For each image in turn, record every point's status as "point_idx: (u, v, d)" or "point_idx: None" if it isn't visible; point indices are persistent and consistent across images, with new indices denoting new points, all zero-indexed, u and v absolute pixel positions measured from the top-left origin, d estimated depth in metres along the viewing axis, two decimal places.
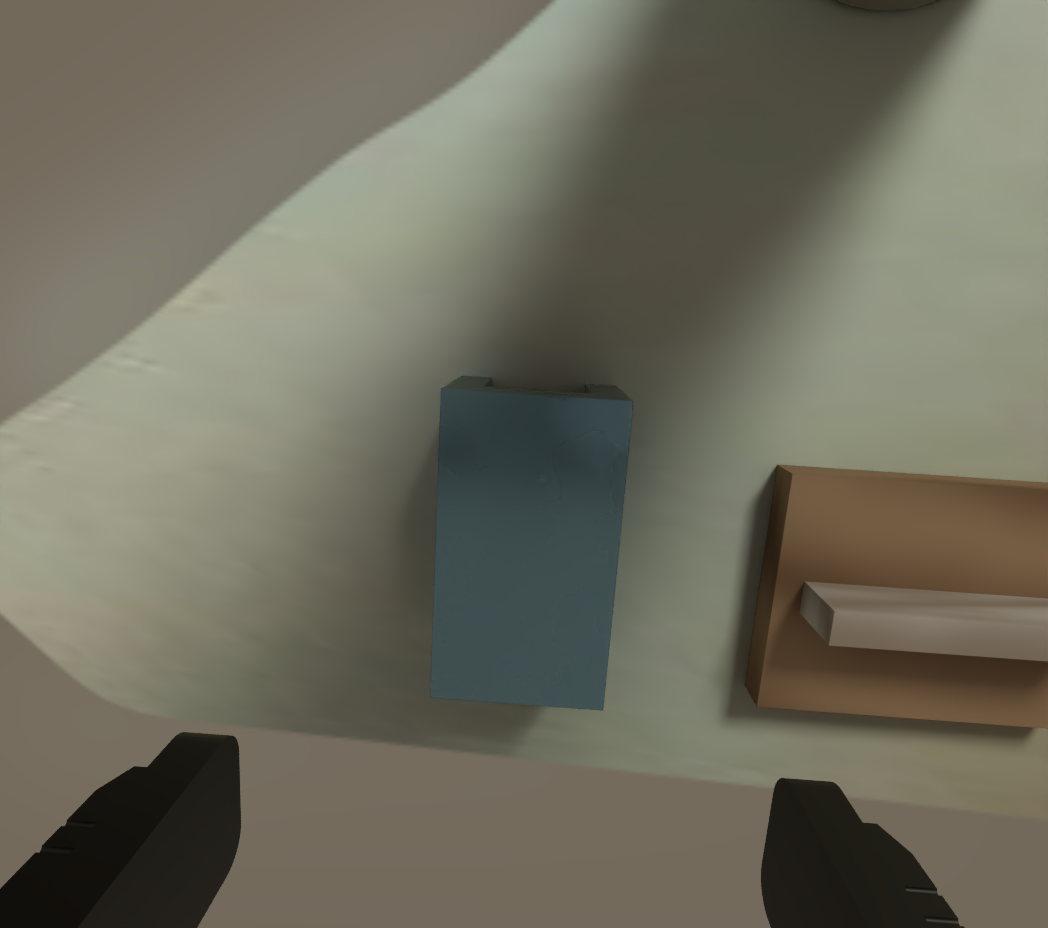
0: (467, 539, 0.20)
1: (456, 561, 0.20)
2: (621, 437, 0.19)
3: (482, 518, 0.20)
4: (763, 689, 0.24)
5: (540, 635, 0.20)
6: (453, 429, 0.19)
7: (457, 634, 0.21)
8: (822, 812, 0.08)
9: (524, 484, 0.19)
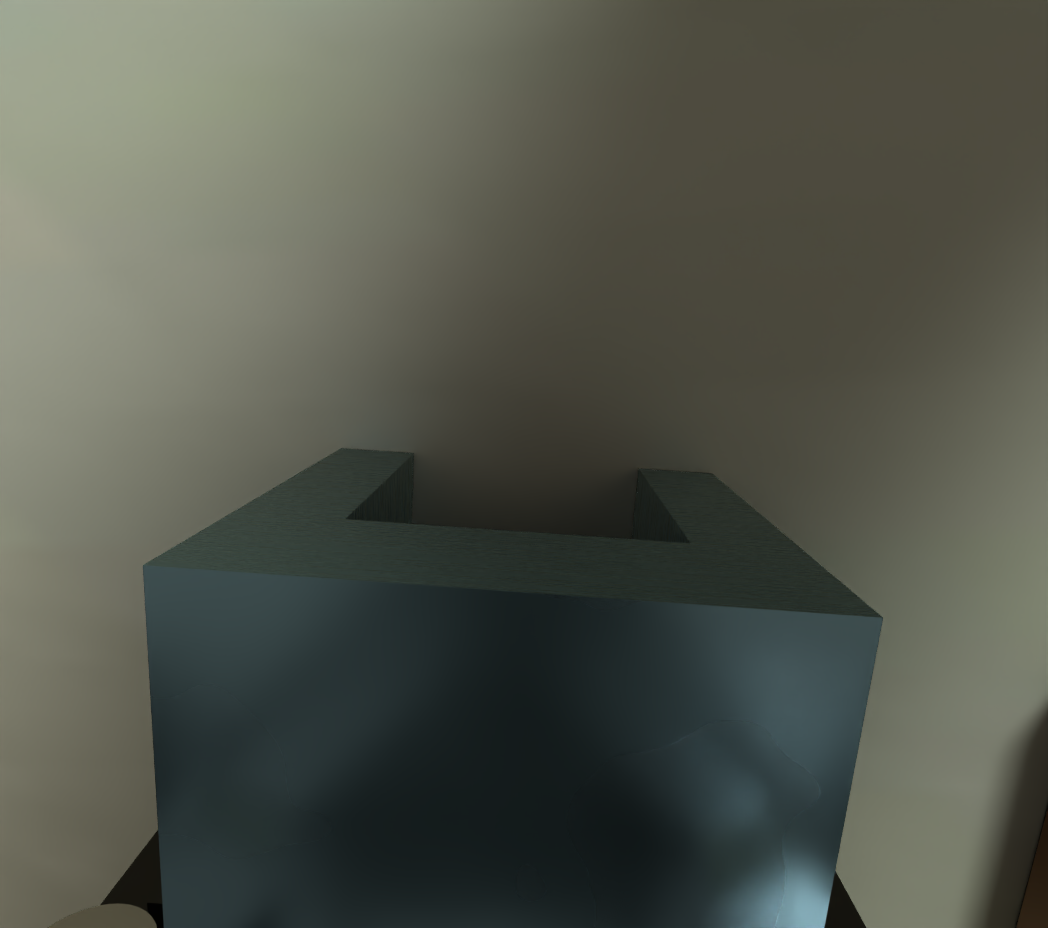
0: None
1: None
2: (827, 744, 0.05)
3: None
4: None
5: None
6: (201, 708, 0.05)
7: None
8: None
9: (467, 891, 0.05)
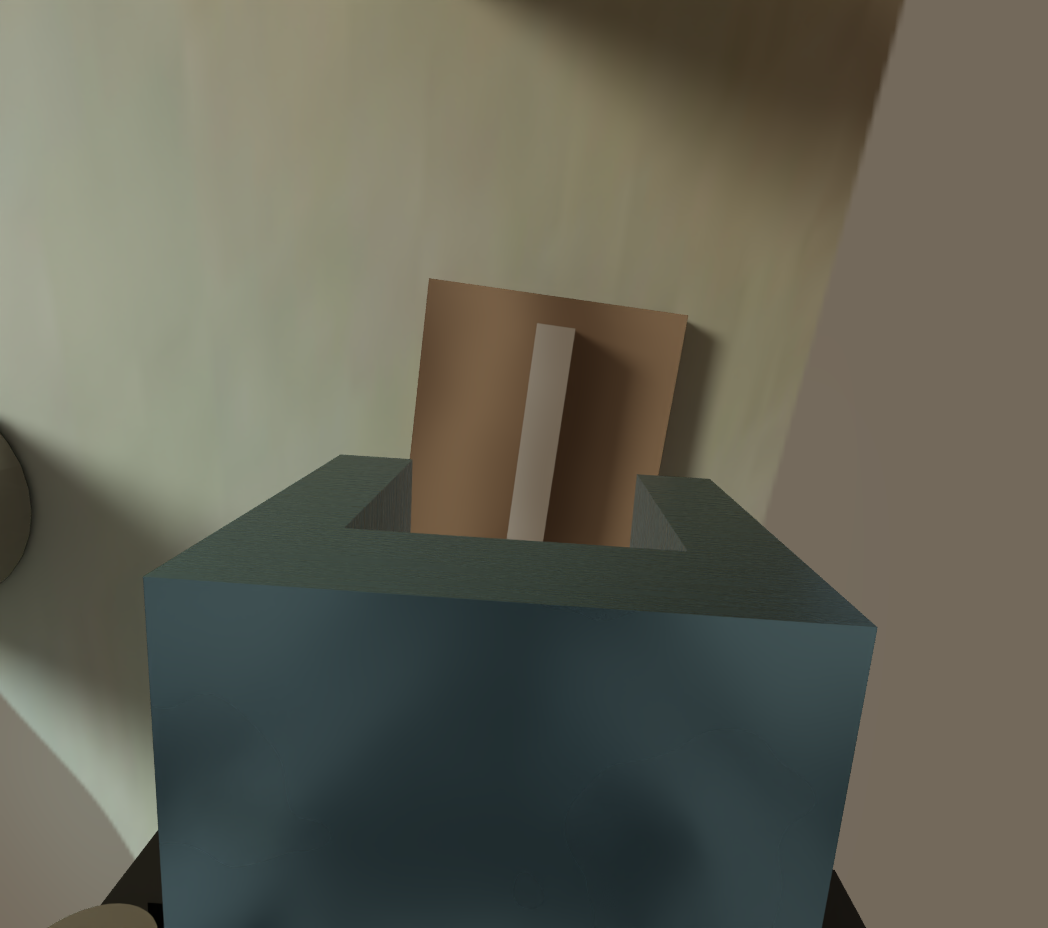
0: None
1: None
2: (822, 752, 0.05)
3: None
4: None
5: None
6: (201, 718, 0.05)
7: None
8: None
9: (466, 898, 0.06)
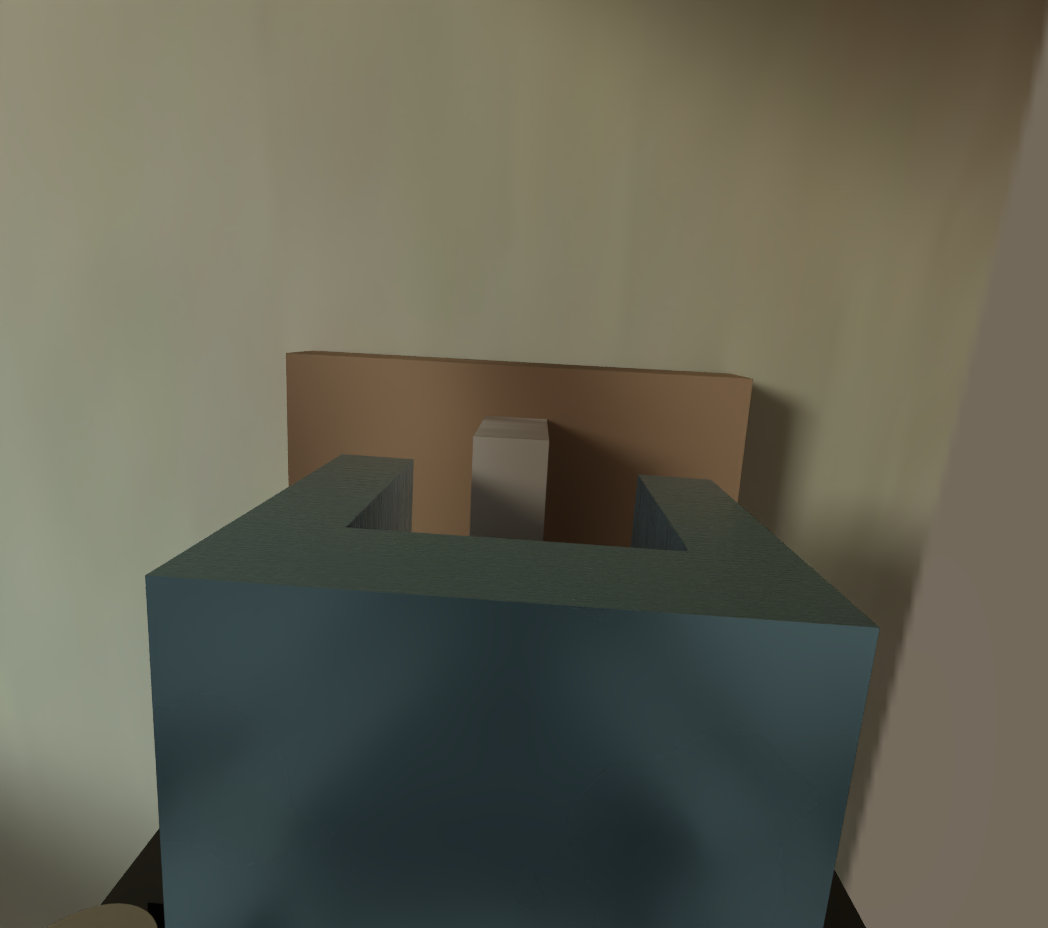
0: None
1: None
2: (824, 752, 0.05)
3: None
4: None
5: None
6: (203, 717, 0.05)
7: None
8: None
9: (467, 898, 0.06)
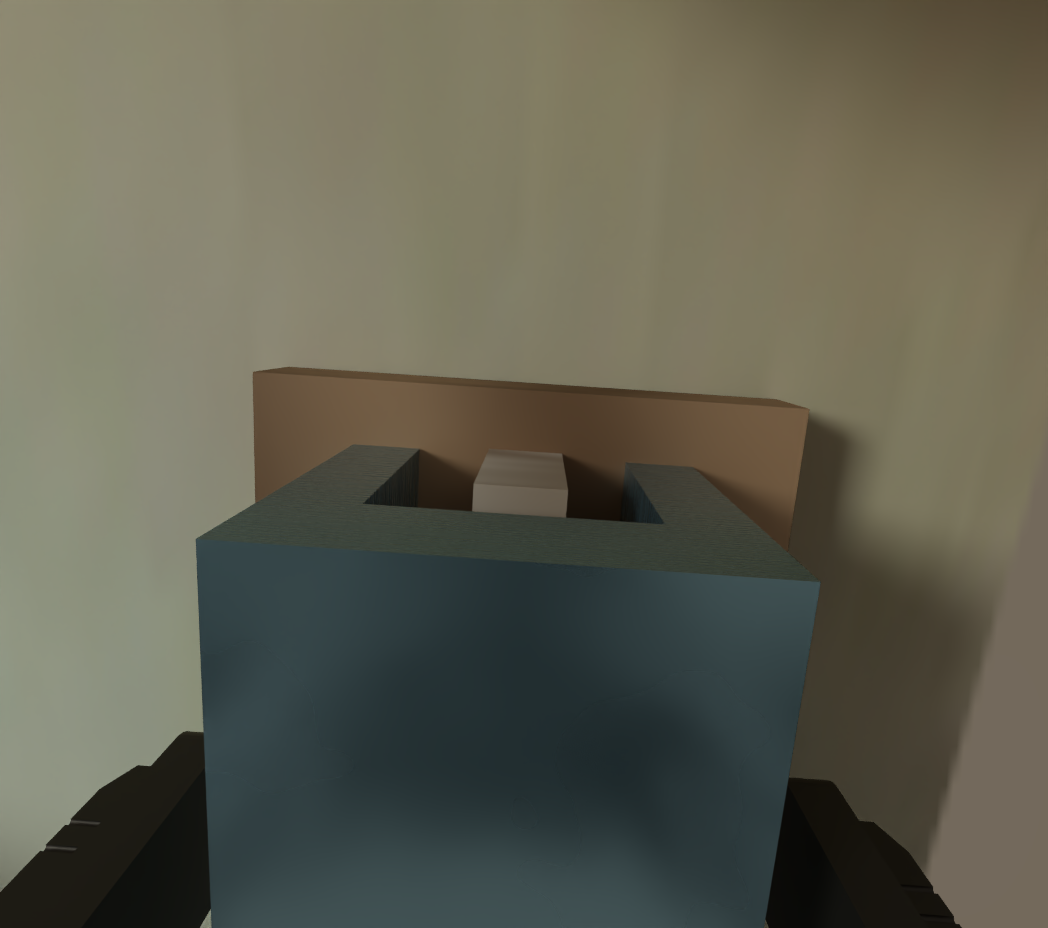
0: None
1: None
2: (775, 691, 0.06)
3: (347, 909, 0.07)
4: None
5: None
6: (243, 662, 0.06)
7: None
8: (819, 810, 0.08)
9: (470, 820, 0.06)
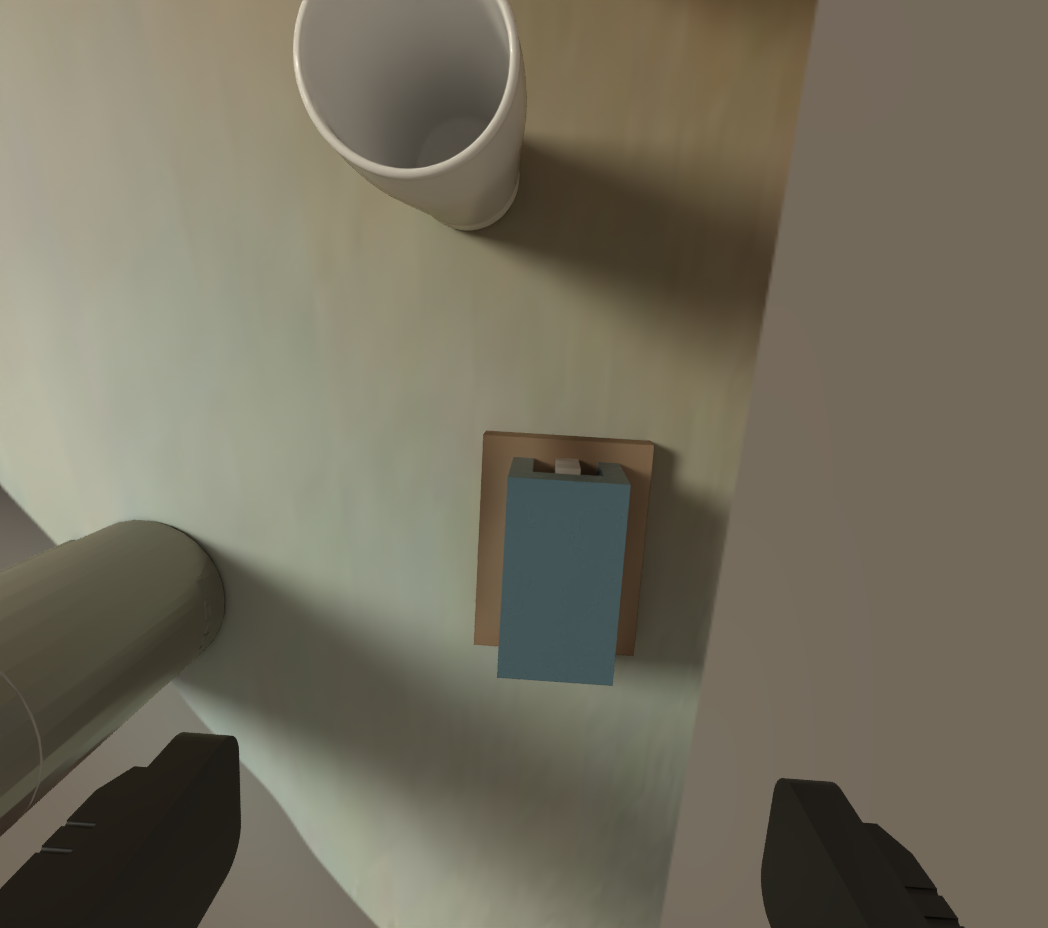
0: (523, 572, 0.31)
1: (515, 587, 0.31)
2: (623, 507, 0.30)
3: (533, 559, 0.30)
4: (620, 652, 0.37)
5: (570, 635, 0.31)
6: (515, 502, 0.30)
7: (515, 635, 0.31)
8: (822, 812, 0.08)
9: (560, 537, 0.30)
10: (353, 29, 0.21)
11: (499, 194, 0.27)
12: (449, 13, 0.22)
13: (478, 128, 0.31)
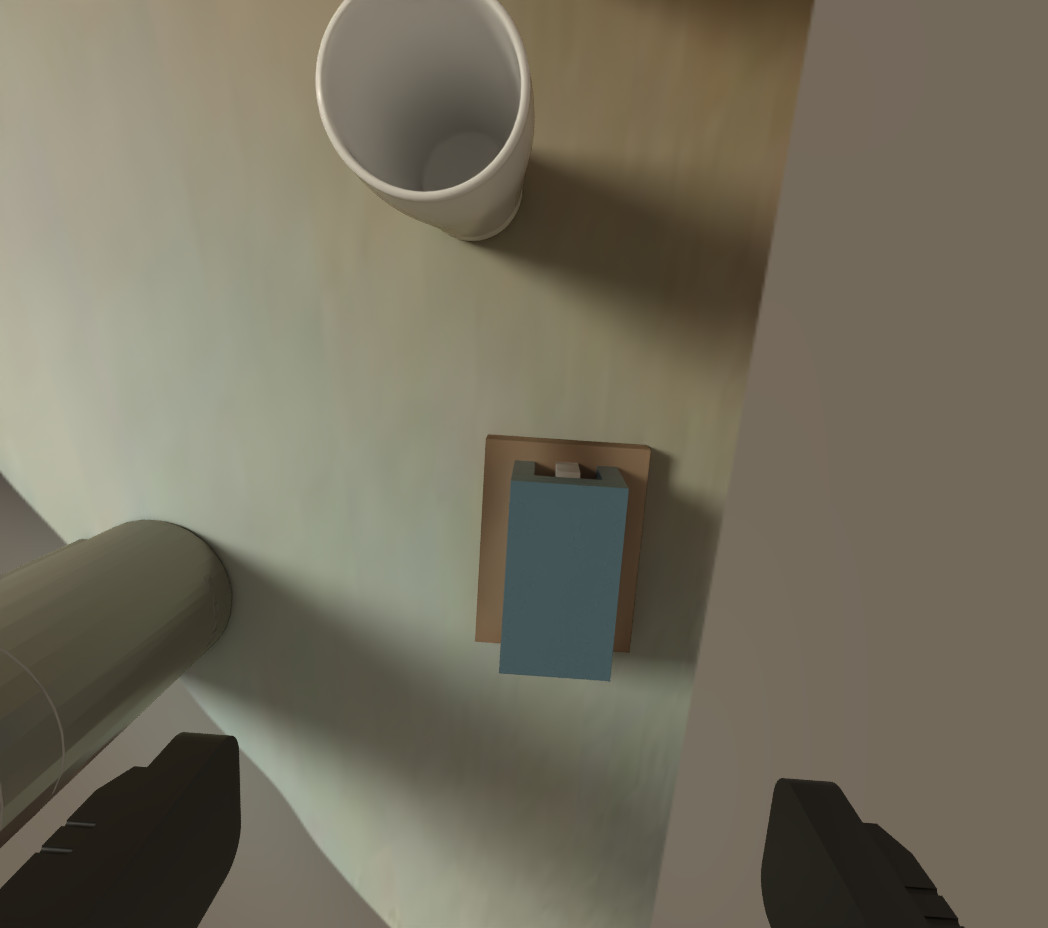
0: (525, 572, 0.32)
1: (517, 586, 0.32)
2: (621, 510, 0.31)
3: (534, 559, 0.32)
4: (617, 648, 0.38)
5: (570, 632, 0.32)
6: (517, 505, 0.31)
7: (517, 632, 0.32)
8: (822, 812, 0.08)
9: (561, 538, 0.31)
10: (369, 55, 0.23)
11: (505, 209, 0.28)
12: (460, 40, 0.23)
13: (483, 142, 0.32)
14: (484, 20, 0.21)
